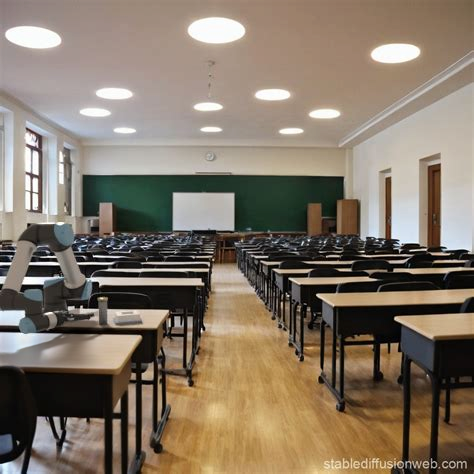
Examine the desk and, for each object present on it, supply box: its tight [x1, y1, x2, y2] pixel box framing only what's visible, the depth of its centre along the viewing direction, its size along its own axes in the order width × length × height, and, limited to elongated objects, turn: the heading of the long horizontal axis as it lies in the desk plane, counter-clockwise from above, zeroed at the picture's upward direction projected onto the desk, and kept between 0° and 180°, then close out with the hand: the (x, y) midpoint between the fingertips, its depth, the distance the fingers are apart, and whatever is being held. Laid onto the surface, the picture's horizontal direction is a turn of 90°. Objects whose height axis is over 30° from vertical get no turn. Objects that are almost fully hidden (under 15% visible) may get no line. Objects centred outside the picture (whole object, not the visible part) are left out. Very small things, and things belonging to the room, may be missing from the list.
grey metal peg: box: [97, 296, 109, 326], centre depth 236 cm, size 5×5×14 cm
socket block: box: [113, 309, 143, 326], centre depth 242 cm, size 14×14×4 cm
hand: (88, 312), depth 227 cm, fingers open, 13 cm apart
